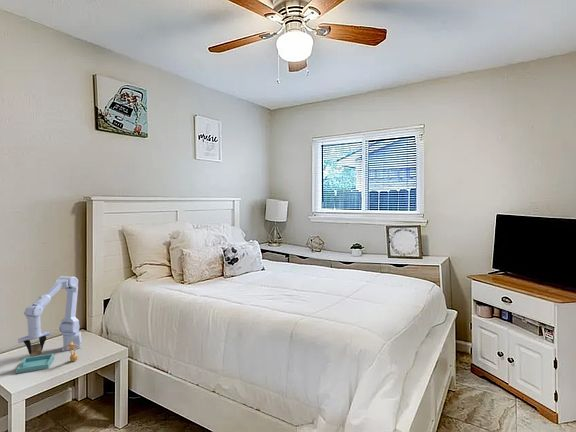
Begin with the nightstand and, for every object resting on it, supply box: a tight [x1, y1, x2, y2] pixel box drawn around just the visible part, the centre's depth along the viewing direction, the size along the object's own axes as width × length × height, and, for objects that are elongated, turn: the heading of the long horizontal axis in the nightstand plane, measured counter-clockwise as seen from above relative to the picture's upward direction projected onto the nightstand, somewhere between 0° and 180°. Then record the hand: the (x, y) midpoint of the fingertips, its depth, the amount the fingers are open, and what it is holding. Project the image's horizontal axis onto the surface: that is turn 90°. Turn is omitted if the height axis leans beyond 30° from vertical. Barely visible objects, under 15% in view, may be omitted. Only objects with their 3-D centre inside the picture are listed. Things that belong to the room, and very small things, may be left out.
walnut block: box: [29, 342, 43, 357], centre depth 195 cm, size 4×4×5 cm
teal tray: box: [15, 353, 55, 375], centre depth 195 cm, size 14×14×2 cm
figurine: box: [64, 341, 81, 362], centre depth 199 cm, size 8×6×12 cm
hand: (35, 351), depth 195 cm, fingers closed on walnut block, 4 cm apart
